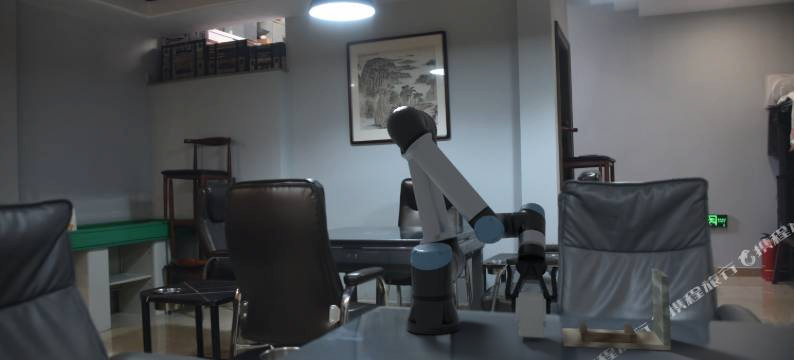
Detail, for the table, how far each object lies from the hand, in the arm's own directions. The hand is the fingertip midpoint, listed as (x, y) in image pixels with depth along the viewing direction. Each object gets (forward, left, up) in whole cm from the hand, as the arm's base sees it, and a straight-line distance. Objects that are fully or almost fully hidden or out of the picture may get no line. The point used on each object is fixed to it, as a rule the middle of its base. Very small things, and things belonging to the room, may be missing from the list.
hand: (530, 323), depth 143 cm
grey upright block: (0, +4, -3) cm, 5 cm away
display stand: (+20, +5, -5) cm, 21 cm away
